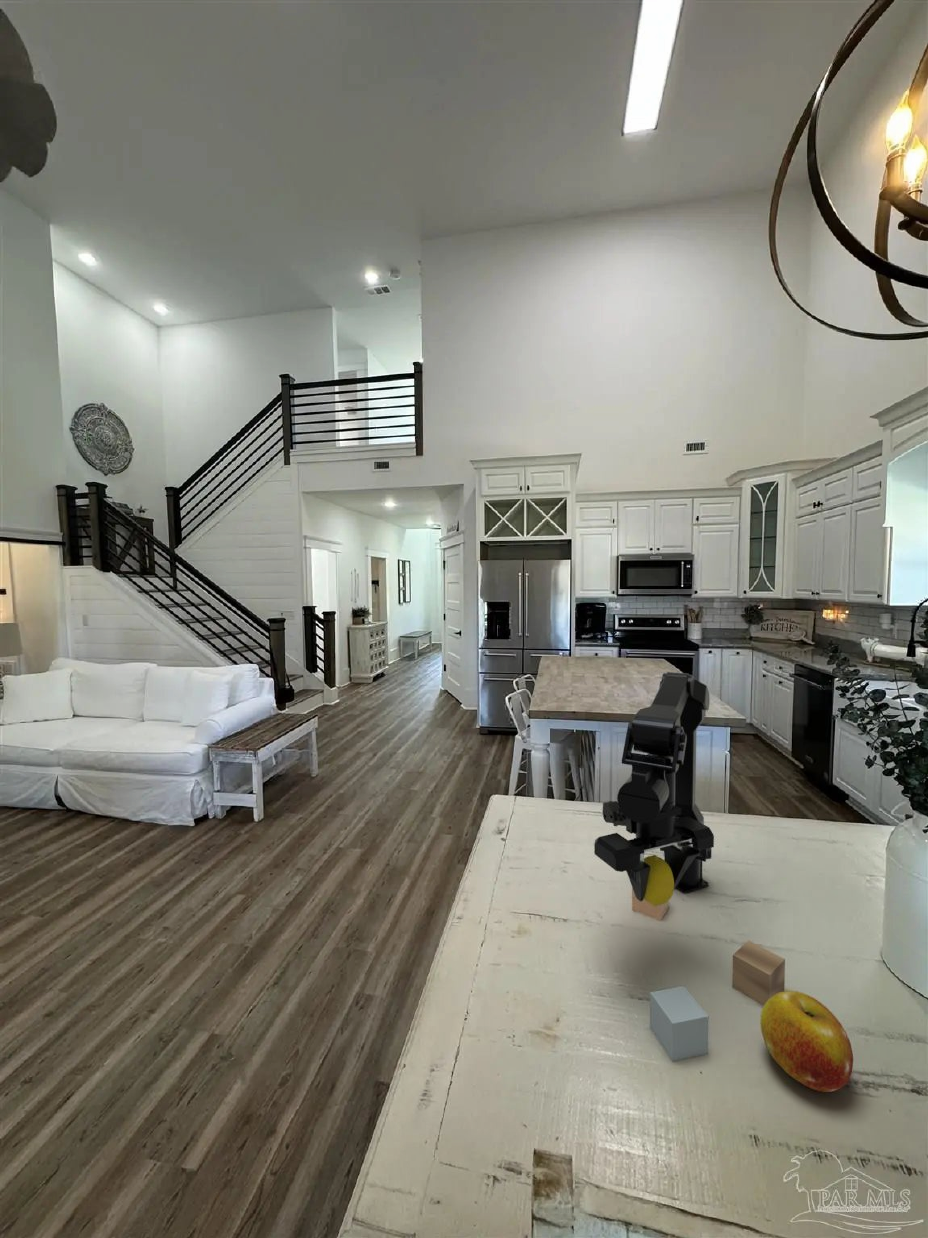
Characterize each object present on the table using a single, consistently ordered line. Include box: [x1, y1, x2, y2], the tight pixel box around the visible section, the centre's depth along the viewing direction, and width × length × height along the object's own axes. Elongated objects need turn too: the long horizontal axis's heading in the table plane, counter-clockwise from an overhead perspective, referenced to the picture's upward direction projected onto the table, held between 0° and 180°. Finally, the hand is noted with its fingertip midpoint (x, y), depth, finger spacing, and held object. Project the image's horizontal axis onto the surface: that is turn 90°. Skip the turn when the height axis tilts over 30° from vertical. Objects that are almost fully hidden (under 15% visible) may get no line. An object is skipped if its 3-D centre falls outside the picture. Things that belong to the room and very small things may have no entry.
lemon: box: [644, 854, 675, 906], centre depth 79 cm, size 6×6×8 cm
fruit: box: [760, 990, 854, 1093], centre depth 61 cm, size 10×9×8 cm
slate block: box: [649, 985, 709, 1062], centre depth 66 cm, size 5×5×5 cm
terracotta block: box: [631, 886, 670, 921], centre depth 93 cm, size 5×5×5 cm
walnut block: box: [731, 939, 786, 1007], centre depth 74 cm, size 5×5×5 cm
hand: (654, 895), depth 79 cm, fingers closed on lemon, 5 cm apart
